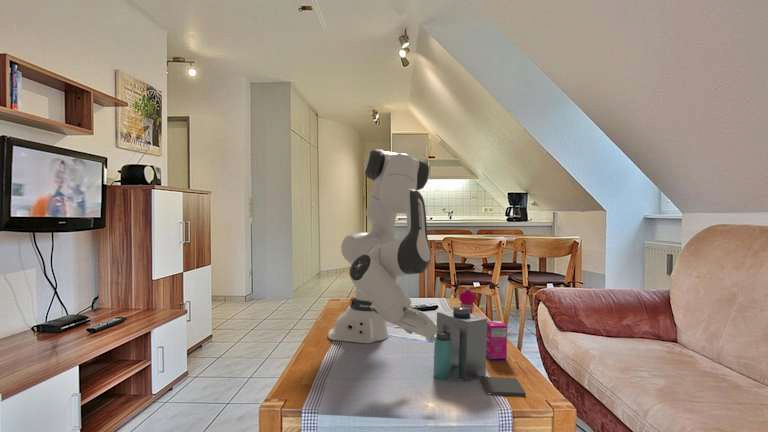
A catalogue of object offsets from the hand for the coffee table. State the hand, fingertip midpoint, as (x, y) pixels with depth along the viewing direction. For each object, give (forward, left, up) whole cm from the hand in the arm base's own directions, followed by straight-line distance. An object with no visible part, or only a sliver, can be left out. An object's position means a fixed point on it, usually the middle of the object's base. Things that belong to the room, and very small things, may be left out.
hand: (421, 335), depth 123 cm
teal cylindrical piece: (+6, +5, -13) cm, 15 cm away
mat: (+22, -1, -13) cm, 26 cm away
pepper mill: (+18, +41, -13) cm, 47 cm away
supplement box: (+25, +23, -13) cm, 37 cm away
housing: (+12, +9, -13) cm, 20 cm away
